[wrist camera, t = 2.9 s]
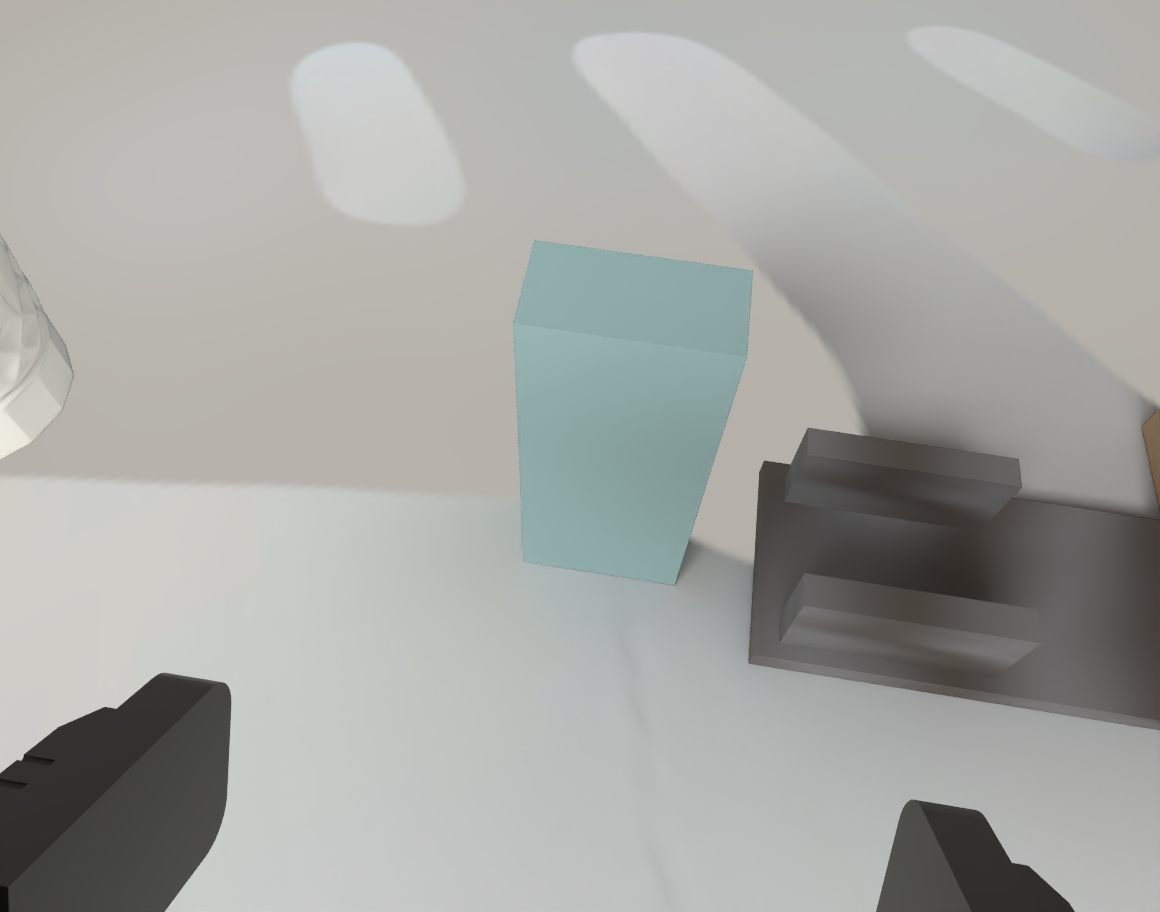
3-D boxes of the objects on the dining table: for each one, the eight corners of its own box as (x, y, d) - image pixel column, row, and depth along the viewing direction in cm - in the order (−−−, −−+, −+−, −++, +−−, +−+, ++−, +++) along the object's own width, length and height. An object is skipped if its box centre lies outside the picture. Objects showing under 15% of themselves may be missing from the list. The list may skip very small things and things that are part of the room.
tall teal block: (684, 495, 31) (754, 242, 20) (674, 585, 29) (746, 357, 19) (541, 473, 31) (541, 212, 21) (523, 561, 29) (512, 323, 19)
